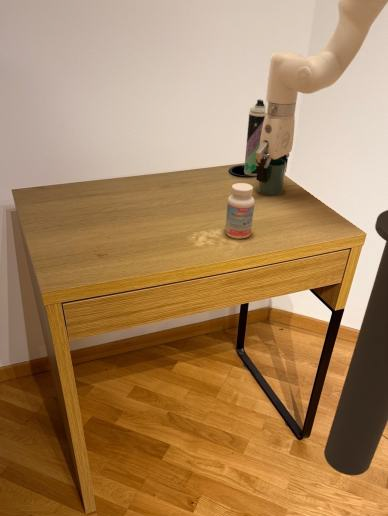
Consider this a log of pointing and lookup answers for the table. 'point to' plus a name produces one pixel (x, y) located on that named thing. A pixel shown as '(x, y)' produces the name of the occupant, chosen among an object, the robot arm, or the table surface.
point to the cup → (274, 178)
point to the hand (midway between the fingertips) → (271, 176)
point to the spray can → (254, 137)
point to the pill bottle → (240, 211)
